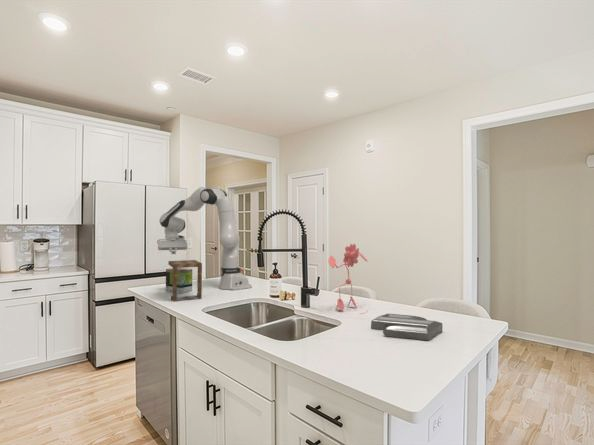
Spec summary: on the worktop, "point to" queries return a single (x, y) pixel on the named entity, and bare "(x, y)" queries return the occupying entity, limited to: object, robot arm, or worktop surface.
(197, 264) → the walnut shelf
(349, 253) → the pink flower figurine
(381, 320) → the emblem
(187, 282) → the tea box
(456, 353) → the worktop surface
